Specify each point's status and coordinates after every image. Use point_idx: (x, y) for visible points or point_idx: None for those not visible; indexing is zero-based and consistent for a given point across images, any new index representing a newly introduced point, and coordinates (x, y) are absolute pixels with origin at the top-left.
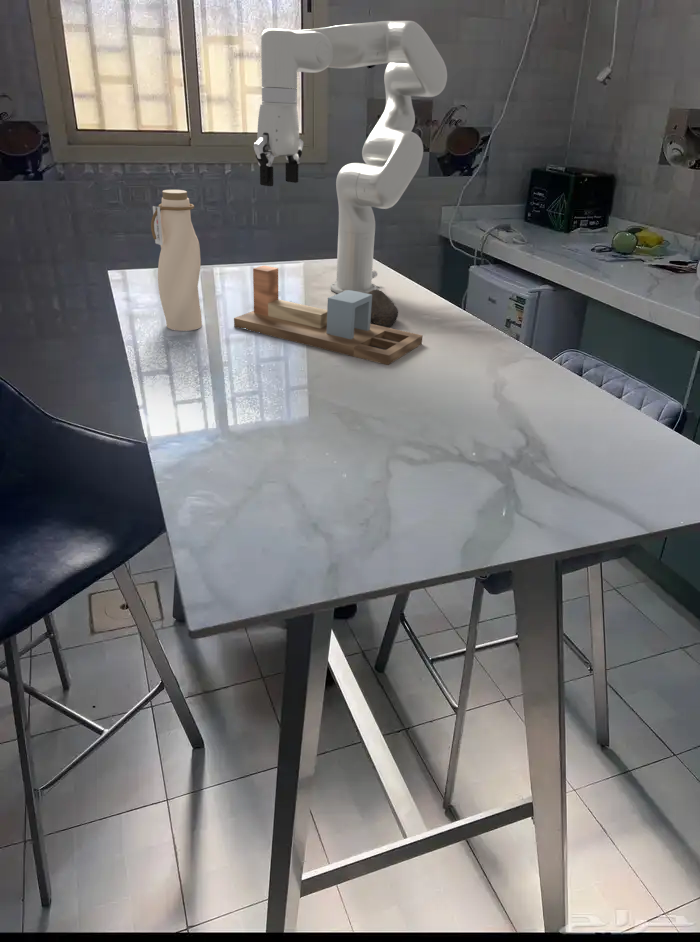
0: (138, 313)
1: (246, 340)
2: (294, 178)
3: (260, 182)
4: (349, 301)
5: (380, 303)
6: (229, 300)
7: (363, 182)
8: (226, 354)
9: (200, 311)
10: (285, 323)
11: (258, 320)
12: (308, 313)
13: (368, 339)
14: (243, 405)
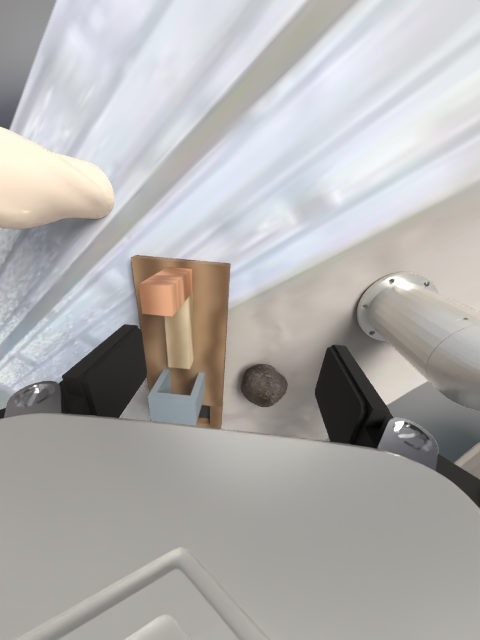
0: (66, 60)
1: (112, 295)
2: (319, 397)
3: (121, 328)
4: (153, 416)
5: (251, 400)
6: (235, 161)
7: None
8: (67, 301)
9: (95, 211)
10: (160, 321)
11: None
12: (167, 352)
13: None
14: (12, 368)
